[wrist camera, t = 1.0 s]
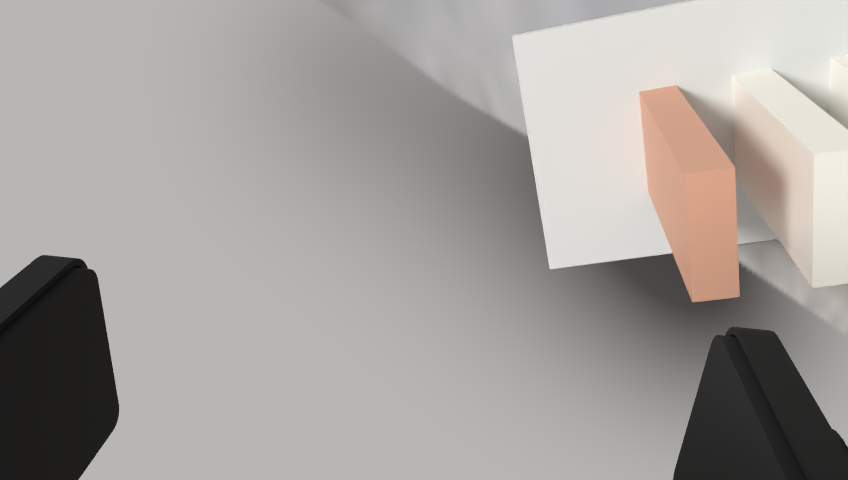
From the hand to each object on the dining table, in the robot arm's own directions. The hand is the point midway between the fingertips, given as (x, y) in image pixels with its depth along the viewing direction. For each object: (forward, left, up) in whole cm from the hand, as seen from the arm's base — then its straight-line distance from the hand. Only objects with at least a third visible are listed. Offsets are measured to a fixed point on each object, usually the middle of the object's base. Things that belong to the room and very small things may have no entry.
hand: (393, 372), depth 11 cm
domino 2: (-12, +6, -24) cm, 28 cm away
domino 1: (-8, +6, -24) cm, 26 cm away
